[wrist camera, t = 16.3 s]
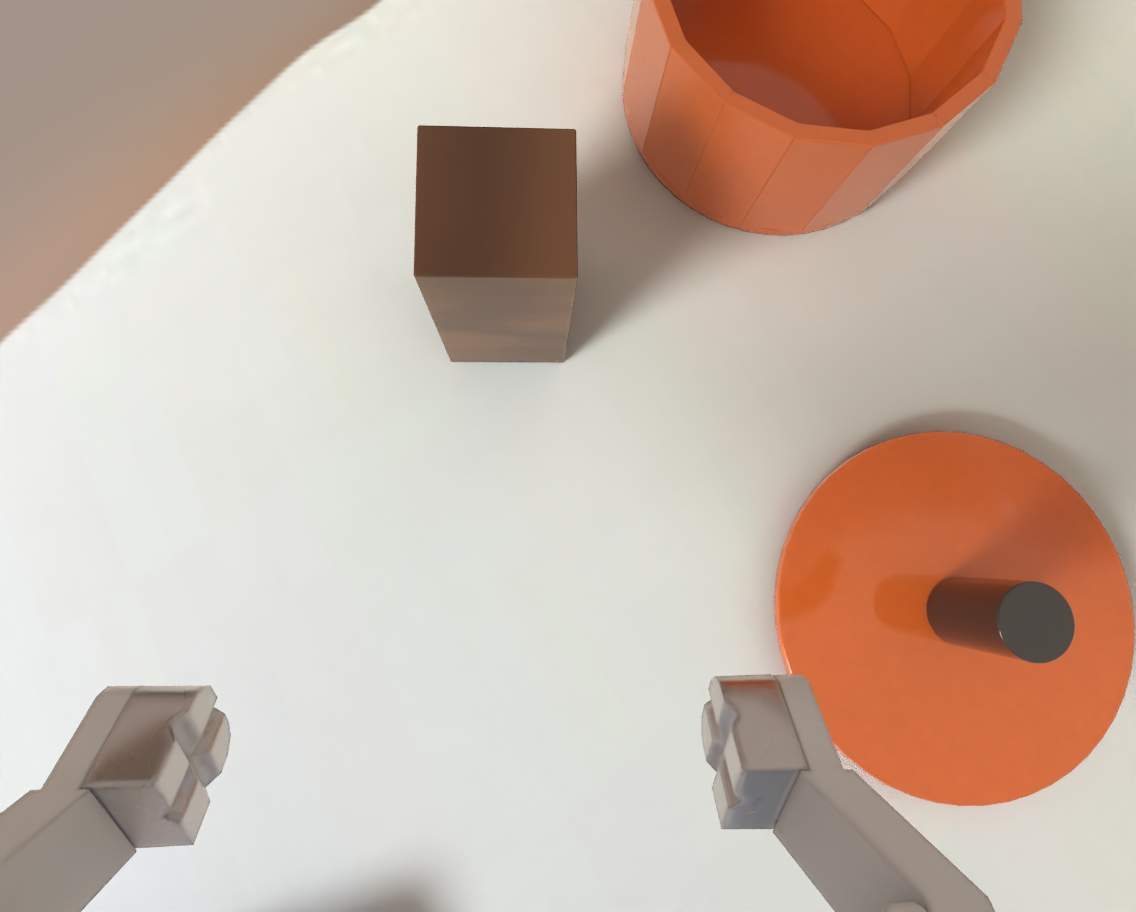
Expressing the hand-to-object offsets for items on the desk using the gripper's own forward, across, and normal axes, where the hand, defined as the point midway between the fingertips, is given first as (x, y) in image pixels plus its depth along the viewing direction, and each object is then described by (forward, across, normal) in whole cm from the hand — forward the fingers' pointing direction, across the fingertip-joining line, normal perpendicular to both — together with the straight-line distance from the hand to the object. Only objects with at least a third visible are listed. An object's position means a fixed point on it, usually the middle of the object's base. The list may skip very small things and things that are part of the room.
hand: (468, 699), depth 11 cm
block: (+19, 0, +2) cm, 19 cm away
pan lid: (+10, -17, +10) cm, 22 cm away
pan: (+26, -12, -6) cm, 29 cm away
